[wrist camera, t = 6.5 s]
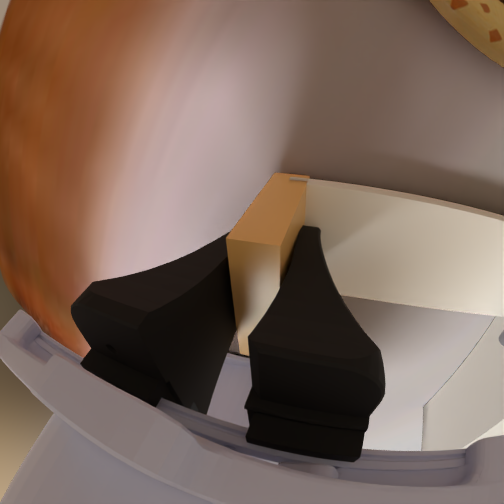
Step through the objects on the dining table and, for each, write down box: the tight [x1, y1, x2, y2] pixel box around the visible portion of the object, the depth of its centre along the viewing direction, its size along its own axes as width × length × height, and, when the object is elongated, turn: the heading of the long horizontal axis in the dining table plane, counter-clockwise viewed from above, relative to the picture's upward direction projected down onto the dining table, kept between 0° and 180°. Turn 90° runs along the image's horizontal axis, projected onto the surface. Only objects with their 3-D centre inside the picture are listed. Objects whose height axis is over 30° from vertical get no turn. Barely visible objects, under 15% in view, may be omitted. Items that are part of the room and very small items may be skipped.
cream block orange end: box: [226, 173, 504, 356], centre depth 8 cm, size 15×5×5 cm, turn 92°
